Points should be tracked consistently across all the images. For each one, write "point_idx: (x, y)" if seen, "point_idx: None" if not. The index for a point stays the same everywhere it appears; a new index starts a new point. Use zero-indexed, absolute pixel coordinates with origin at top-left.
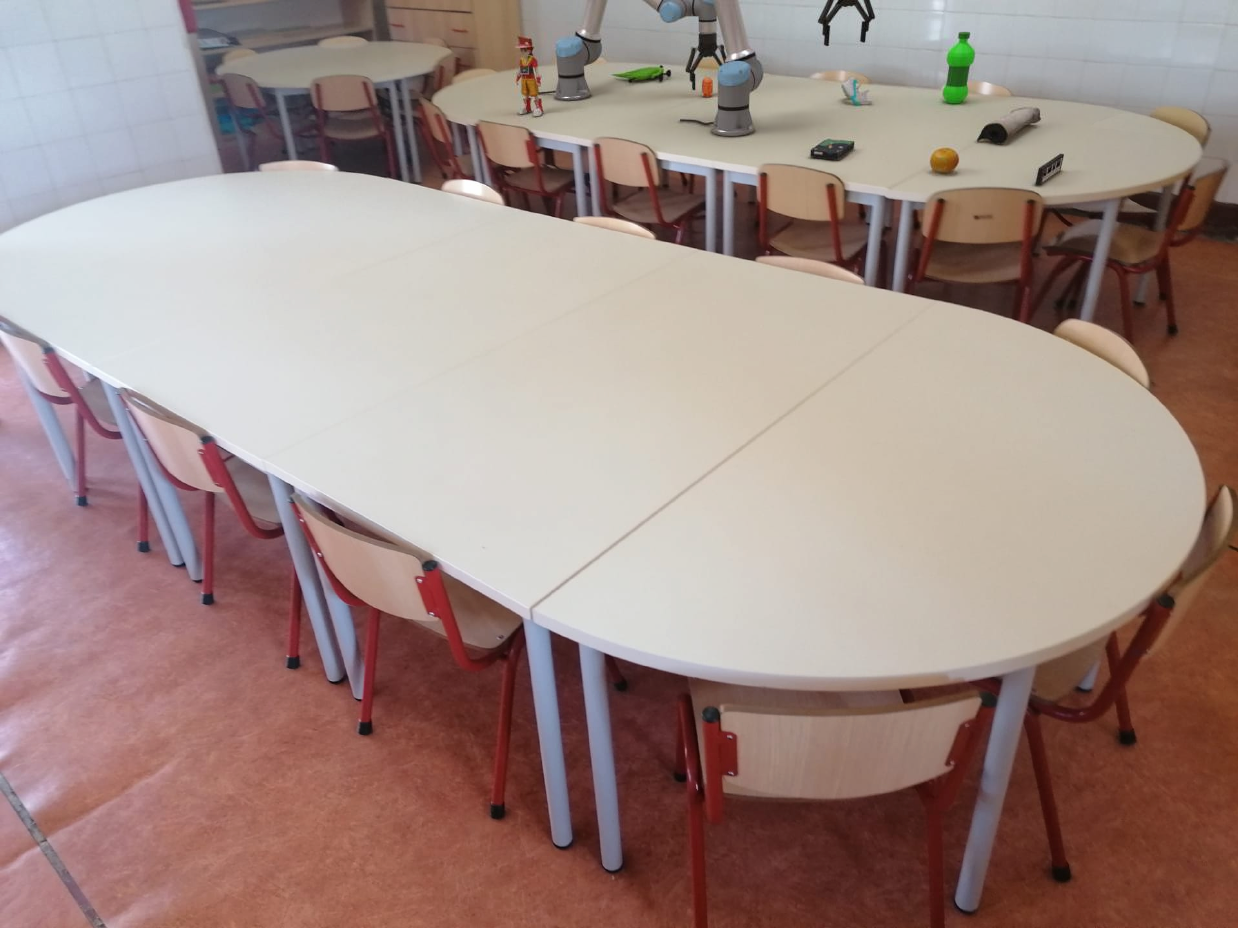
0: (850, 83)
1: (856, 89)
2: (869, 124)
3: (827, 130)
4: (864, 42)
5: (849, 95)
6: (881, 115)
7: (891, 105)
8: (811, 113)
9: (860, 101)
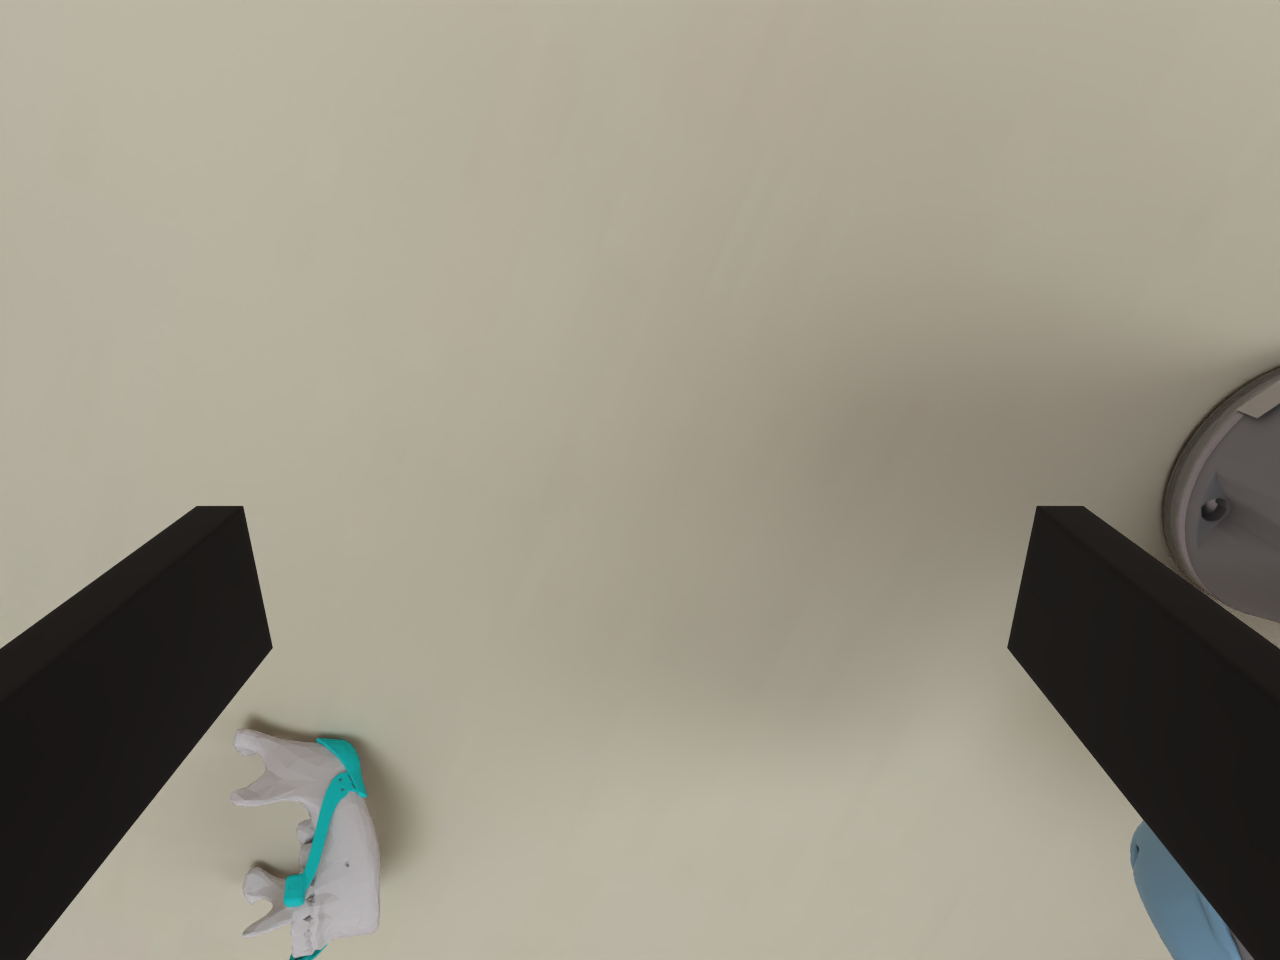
0: (329, 894)
1: (305, 842)
2: (398, 308)
3: (731, 272)
4: (209, 509)
5: (365, 806)
6: (253, 491)
7: None
8: (657, 685)
9: (311, 752)
